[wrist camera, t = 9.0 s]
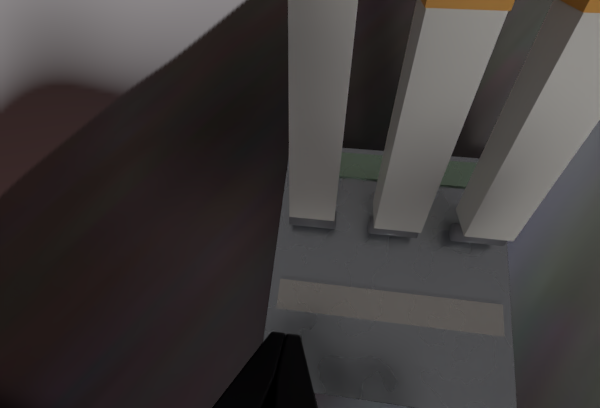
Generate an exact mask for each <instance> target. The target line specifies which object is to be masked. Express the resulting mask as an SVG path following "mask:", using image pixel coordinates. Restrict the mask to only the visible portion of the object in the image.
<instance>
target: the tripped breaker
mask: <svg viewBox="0 0 600 408" xmlns="http://www.w3.org/2000/svg"><path fill="white" fill-rule="evenodd" d="M357 7H358V0H288V78H289V225H299V226H309V227H318V228H328V229H335V225H336V214H337V212H336V211H335V210H336V201H337V192H338V182H339V173H340V164H341V155H342V145H343V136H344V127H345V118H346V108H347V99H348V90H349V81H350V71H351V62H352V53H353V44H354V34H355V25H356V16H357Z"/></svg>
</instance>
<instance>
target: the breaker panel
mask: <svg viewBox="0 0 600 408" xmlns="http://www.w3.org/2000/svg"><path fill="white" fill-rule="evenodd" d="M383 153H384V151H376V150H364V149H351V148H342V155H341V164H340V173H339V182H338V192H337V201H336V210H335V211H336V212H337V214H336V225H335V229H328V228H318V227H309V226H299V225H289V158H288V166H287V173H286V180H285V187H284V195H283V202H282V209H281V217H280V224H279V231H278V238H277V246H276V253H275V260H274V267H273V275H272V282H271V289H270V296H269V304H268V311H267V318H266V325H265V333H264V340H265V339H266V338H267V337H268V335H269V334H270V333H271V332H273V331H275V332H283V333H285V334H288V333H290V334H297V335H300V336H301V339H302V343H303V348H304V352H305V356H306V360H307V365H308V369H309V373H310V377H311V382H312V386H313V390H314V393H321V394H327V395H334V396H341V397H347V398H354V399H361V400H368V401H374V402H381V403H388V404H395V405H401V406H408V407H415V408H517V402H516V385H515V369H514V352H513V335H512V319H511V302H510V285H509V269H508V252H507V242H506V244H505V245H504V246H496V245H486V244H476V243H466V242H457V241H451V240H450V236H449V231H450V226H451V224H452V223H460V222H459V218H458V215H457V212H456V207H457V205H458V203H459V201H460V199H461V197H462V194H463V192H464V190H465V188H466V186H467V184H468V182H469V180H470V177H471V175H472V173H473V171H474V169H475V167H476V165H477V162H478V160H479V158H467V157H454V156H451V158H450V160H449V163H448V166H447V168H446V171H445V173H444V176H443V178H442V181H441V183H440V186H439V189H438V191H437V194H436V196H435V199H434V201H433V204H432V206H431V209H430V211H429V214H428V217H427V219H426V222H425V224H424V227H423V229H422V232H421V233H419V234H418V237H417V238H410V237H400V236H390V235H380V234H370V233H368V222H369V216H373V199H374V194H375V190H376V185H377V180H378V176H379V171H380V167H381V162H382V157H383ZM264 340H263V342H264Z"/></svg>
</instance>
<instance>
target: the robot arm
mask: <svg viewBox="0 0 600 408" xmlns="http://www.w3.org/2000/svg"><path fill="white" fill-rule="evenodd" d="M212 408H318V407H317V403H316V398H315V394H314V390H313V386H312V382H311V377H310V373H309V369H308V365H307V360H306V356H305V352H304V348H303V343H302V339H301V336H300V335H297V334H290V333H288V334H285V333H283V332H275V331H273V332H271V333H270V334H269V335H268V337H267V338H266V339H265V340H264V342H263V343H262V344H261V346H260V347H259V348H258V349H257V351H256V352H255V353H254V355H253V356H252V357H251V358H250V360H249V361H248V362H247V364H246V365H245V366H244V367H243V369H242V370H241V371H240V373H239V374H238V375H237V376H236V378H235V379H234V380H233V382H232V383H231V384H230V385H229V387H228V388H227V389H226V391H225V392H224V393H223V394H222V396H221V397H220V398H219V400H218V401H217V402H216V403H215V405H214V406H213V407H212Z"/></svg>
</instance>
